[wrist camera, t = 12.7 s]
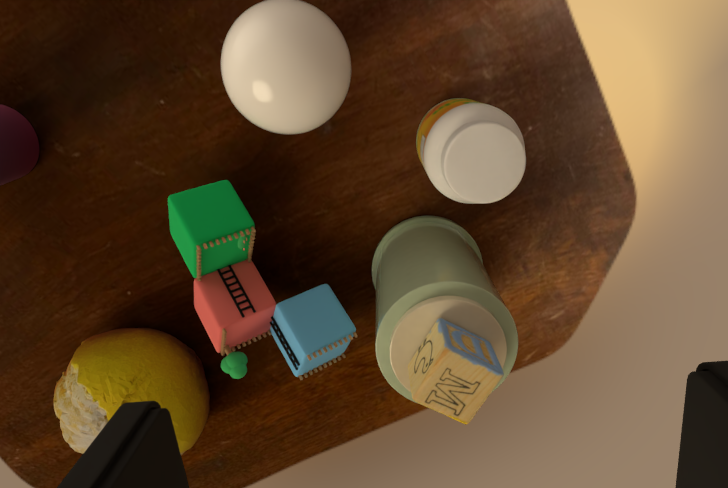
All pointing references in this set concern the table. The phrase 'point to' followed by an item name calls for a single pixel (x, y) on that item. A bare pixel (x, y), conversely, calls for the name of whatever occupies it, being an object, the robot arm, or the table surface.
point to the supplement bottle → (471, 151)
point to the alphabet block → (453, 371)
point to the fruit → (131, 384)
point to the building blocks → (249, 287)
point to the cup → (16, 145)
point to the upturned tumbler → (434, 295)
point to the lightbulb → (286, 66)
